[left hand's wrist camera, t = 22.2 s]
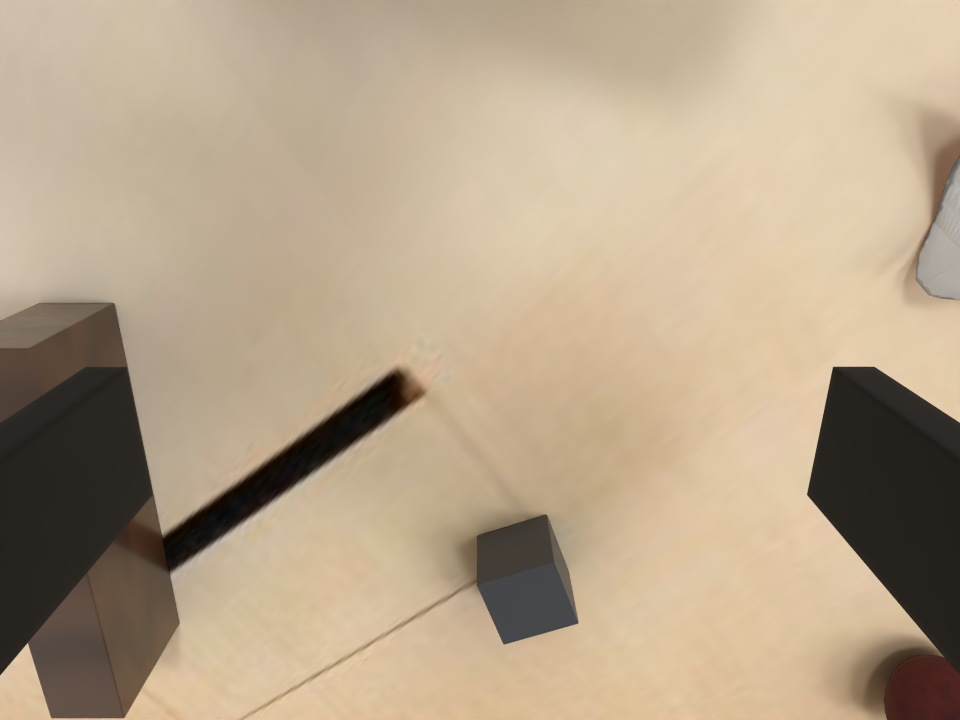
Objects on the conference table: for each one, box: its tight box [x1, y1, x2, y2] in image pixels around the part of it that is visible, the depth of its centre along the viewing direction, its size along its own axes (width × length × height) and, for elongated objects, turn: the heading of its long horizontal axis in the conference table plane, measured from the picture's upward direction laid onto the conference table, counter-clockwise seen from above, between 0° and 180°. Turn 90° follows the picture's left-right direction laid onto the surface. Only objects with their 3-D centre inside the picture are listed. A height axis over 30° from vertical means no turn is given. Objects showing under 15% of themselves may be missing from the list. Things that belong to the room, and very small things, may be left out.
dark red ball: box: [884, 655, 960, 720], centre depth 46 cm, size 7×8×7 cm
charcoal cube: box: [477, 515, 578, 644], centre depth 43 cm, size 5×5×5 cm
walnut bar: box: [0, 303, 179, 718], centre depth 40 cm, size 24×4×8 cm, turn 0°
